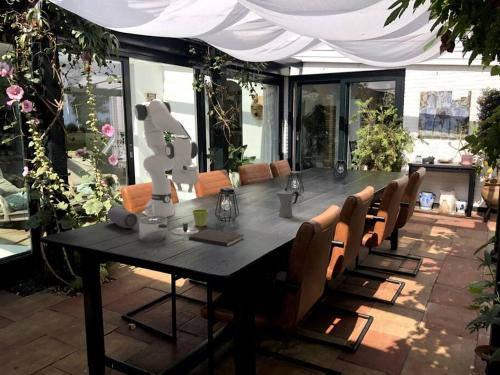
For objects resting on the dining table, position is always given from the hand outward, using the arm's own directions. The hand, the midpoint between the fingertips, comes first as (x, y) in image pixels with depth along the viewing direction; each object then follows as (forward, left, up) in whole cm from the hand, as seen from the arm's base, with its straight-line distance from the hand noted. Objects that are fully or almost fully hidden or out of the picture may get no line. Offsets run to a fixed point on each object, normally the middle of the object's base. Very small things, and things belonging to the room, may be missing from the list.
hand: (185, 191), depth 220 cm
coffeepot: (+17, +67, -22) cm, 73 cm away
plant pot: (-4, +13, -22) cm, 26 cm away
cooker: (-2, -20, -22) cm, 30 cm away
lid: (0, -1, -22) cm, 22 cm away
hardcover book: (+23, +1, -23) cm, 33 cm away
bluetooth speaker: (-35, -19, -22) cm, 45 cm away
